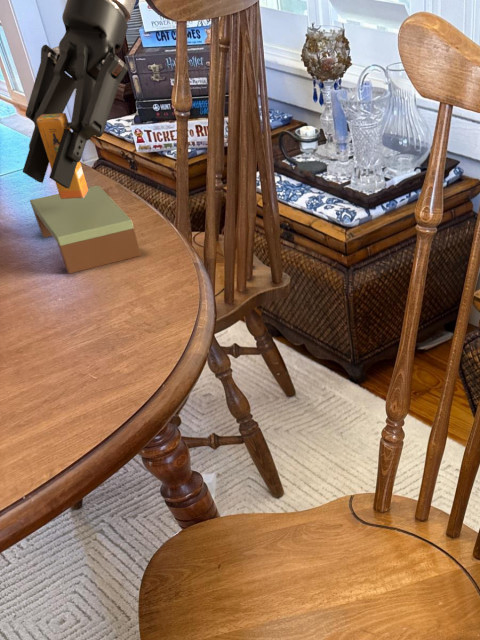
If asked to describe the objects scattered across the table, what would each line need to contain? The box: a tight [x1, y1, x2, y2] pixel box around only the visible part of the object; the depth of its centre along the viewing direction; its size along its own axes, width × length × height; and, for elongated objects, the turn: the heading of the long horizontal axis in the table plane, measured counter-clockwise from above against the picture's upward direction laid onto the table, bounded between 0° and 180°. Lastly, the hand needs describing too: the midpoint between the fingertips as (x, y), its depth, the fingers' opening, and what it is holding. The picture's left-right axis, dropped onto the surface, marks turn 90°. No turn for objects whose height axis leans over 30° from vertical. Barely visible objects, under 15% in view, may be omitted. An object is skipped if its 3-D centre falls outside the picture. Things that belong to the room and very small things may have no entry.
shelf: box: [29, 185, 142, 275], centre depth 110 cm, size 16×10×5 cm, turn 32°
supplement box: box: [37, 112, 88, 199], centre depth 104 cm, size 3×3×10 cm
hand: (46, 179), depth 103 cm, fingers closed on supplement box, 4 cm apart
